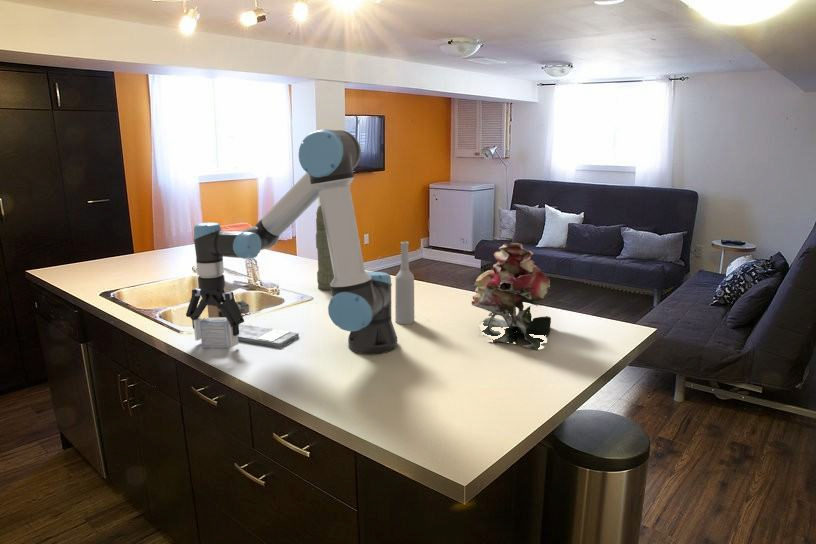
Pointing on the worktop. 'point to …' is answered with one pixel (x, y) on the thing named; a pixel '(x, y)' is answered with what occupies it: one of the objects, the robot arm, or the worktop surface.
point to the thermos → (323, 254)
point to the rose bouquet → (513, 295)
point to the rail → (258, 332)
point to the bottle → (404, 290)
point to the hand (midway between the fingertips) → (216, 342)
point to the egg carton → (243, 306)
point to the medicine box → (215, 332)
